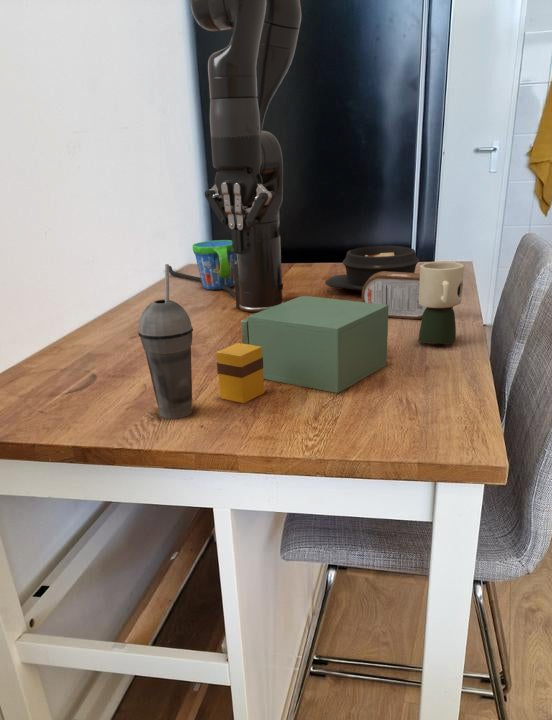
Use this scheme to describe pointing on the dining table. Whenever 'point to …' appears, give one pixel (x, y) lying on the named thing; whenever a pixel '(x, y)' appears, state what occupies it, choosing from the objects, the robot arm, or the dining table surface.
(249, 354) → the snack box
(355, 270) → the casserole
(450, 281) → the character mug
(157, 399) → the beverage cup
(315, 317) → the cabinet
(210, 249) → the snack cup
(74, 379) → the dining table surface
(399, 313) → the tin
